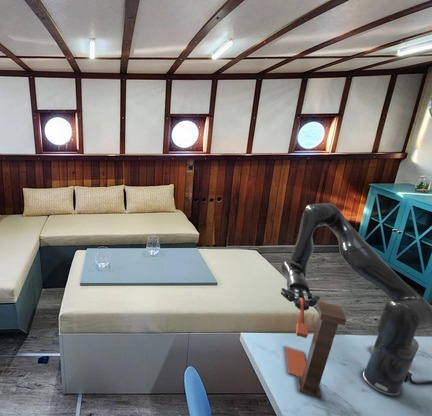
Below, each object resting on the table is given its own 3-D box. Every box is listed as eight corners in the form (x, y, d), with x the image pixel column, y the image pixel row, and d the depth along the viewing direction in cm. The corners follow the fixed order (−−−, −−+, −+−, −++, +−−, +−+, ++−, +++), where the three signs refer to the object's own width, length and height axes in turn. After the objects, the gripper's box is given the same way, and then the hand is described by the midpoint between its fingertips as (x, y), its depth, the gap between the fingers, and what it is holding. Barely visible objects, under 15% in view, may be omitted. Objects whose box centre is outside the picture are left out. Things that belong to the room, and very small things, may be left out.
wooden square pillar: (296, 376, 101) (317, 301, 91) (317, 383, 98) (340, 306, 88) (299, 392, 95) (321, 313, 85) (320, 399, 93) (346, 319, 83)
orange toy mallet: (296, 298, 110) (297, 294, 109) (305, 300, 109) (307, 296, 107) (296, 335, 101) (297, 332, 99) (306, 338, 99) (307, 335, 98)
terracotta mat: (285, 348, 113) (285, 347, 113) (303, 353, 110) (303, 352, 110) (288, 373, 102) (288, 372, 102) (308, 380, 99) (308, 379, 99)
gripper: (280, 274, 122) (283, 293, 107) (319, 282, 116) (327, 303, 101) (277, 289, 124) (279, 310, 109) (315, 298, 118) (322, 322, 103)
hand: (302, 307), depth 105 cm, fingers closed on orange toy mallet, 1 cm apart
